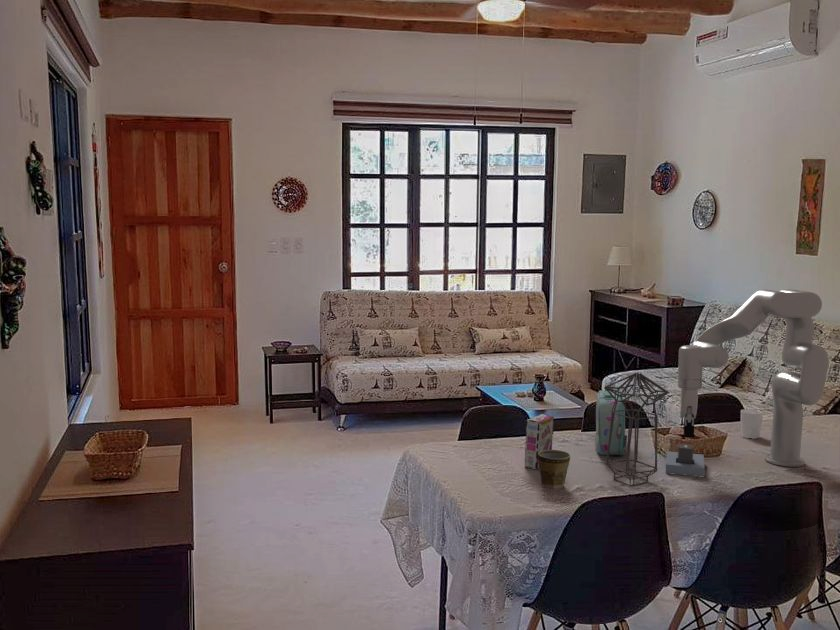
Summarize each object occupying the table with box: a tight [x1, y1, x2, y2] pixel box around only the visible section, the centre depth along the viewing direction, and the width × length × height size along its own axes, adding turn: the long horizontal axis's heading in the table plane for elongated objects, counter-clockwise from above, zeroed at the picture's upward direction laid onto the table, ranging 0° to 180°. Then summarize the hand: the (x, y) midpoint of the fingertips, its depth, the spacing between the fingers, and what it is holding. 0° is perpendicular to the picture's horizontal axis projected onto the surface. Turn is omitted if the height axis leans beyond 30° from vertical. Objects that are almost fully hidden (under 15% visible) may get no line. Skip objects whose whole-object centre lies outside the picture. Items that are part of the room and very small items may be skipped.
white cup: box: [740, 408, 764, 440], centre depth 314 cm, size 8×8×10 cm
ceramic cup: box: [538, 449, 571, 489], centre depth 255 cm, size 13×10×10 cm
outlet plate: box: [664, 451, 705, 477], centre depth 274 cm, size 16×12×3 cm
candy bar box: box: [524, 413, 555, 470], centre depth 274 cm, size 11×5×16 cm, turn 145°
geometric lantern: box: [603, 372, 670, 487], centre depth 259 cm, size 16×16×35 cm
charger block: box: [678, 443, 694, 464], centre depth 272 cm, size 4×4×8 cm
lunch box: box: [594, 389, 628, 456], centre depth 294 cm, size 27×10×21 cm, turn 170°
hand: (688, 433), depth 271 cm, fingers open, 9 cm apart
